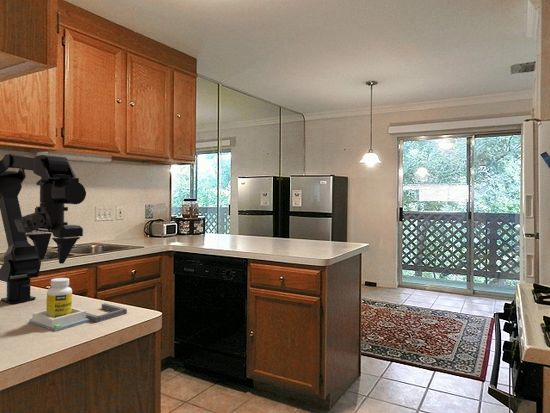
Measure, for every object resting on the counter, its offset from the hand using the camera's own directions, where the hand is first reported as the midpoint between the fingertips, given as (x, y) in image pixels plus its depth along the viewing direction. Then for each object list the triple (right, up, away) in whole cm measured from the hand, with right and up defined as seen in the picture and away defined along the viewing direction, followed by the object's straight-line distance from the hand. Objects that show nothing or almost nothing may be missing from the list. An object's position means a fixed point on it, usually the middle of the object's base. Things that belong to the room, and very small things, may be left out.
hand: (51, 261), depth 104 cm
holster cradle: (+14, -14, -2) cm, 20 cm away
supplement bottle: (+7, -13, -9) cm, 17 cm away
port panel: (+7, -14, -9) cm, 18 cm away
